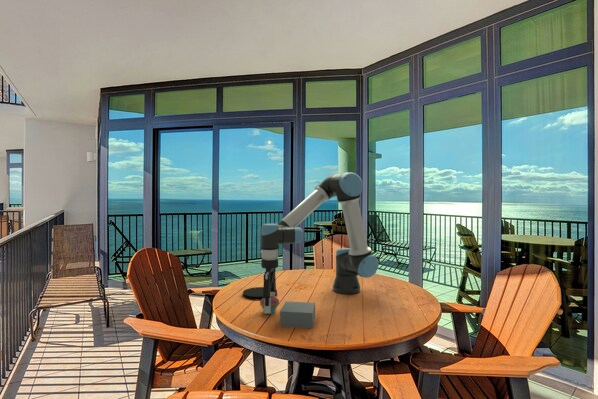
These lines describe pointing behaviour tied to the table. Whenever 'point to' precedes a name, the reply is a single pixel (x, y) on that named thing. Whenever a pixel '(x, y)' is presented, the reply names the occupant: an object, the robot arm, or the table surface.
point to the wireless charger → (254, 293)
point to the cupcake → (273, 304)
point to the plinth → (297, 314)
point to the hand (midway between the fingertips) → (269, 309)
